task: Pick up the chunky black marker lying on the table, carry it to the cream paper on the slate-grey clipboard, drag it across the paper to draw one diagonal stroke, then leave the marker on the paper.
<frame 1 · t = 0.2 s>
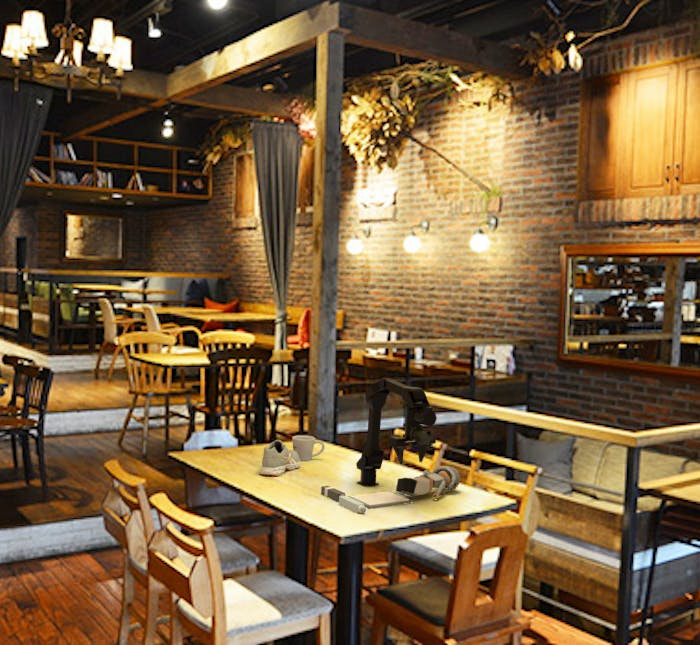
hand: (410, 463, 302), 14 cm above the table, tool pointing down, fingers open, 9 cm apart
pale blue marker: (351, 508, 290), on the table
running shoe: (281, 470, 344), on the table
mug: (307, 460, 366), on the table
clipboard: (380, 500, 302), on the table
toy: (430, 496, 313), on the table
black marker: (332, 497, 303), on the table
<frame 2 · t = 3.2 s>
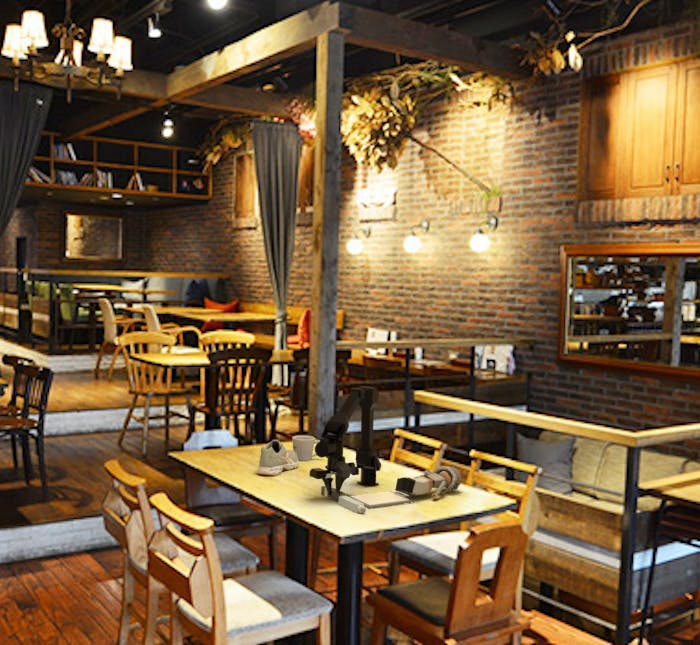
hand: (333, 494, 303), 1 cm above the table, tool pointing down, fingers closed on black marker, 3 cm apart
black marker: (332, 497, 303), on the table, touching gripper
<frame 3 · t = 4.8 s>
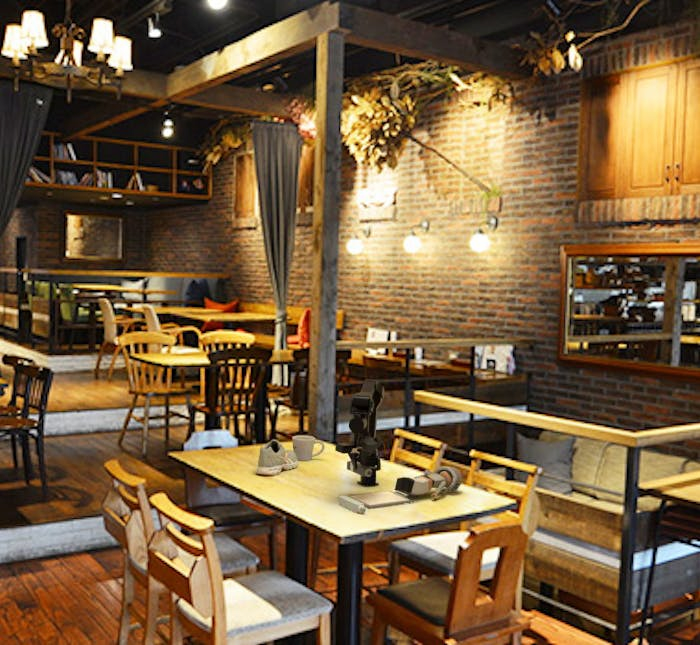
hand: (359, 469, 304), 11 cm above the table, tool pointing down, fingers closed on black marker, 3 cm apart
black marker: (358, 472, 305), point 9 cm above the table, touching gripper
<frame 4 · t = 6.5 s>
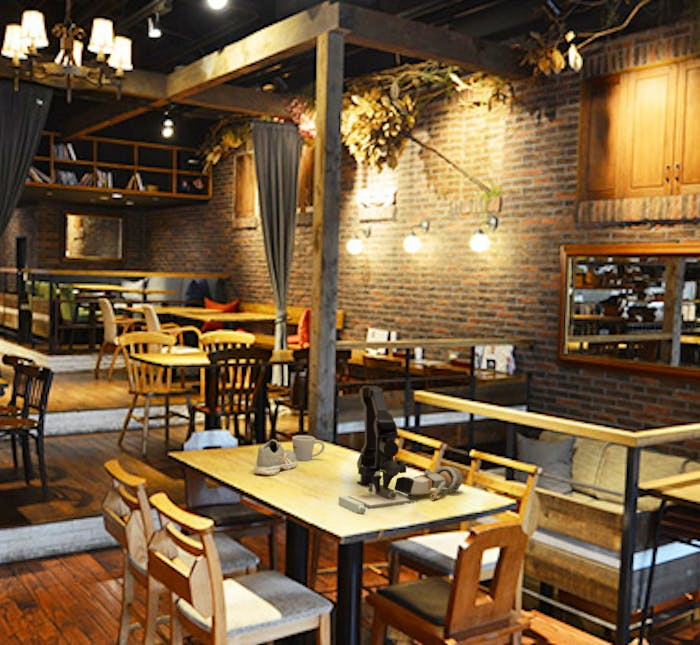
hand: (381, 492, 306), 2 cm above the table, tool pointing down, fingers closed on black marker, 3 cm apart
toy: (430, 496, 313), on the table, touching clipboard
black marker: (380, 494, 307), point 1 cm above the table, touching clipboard, gripper
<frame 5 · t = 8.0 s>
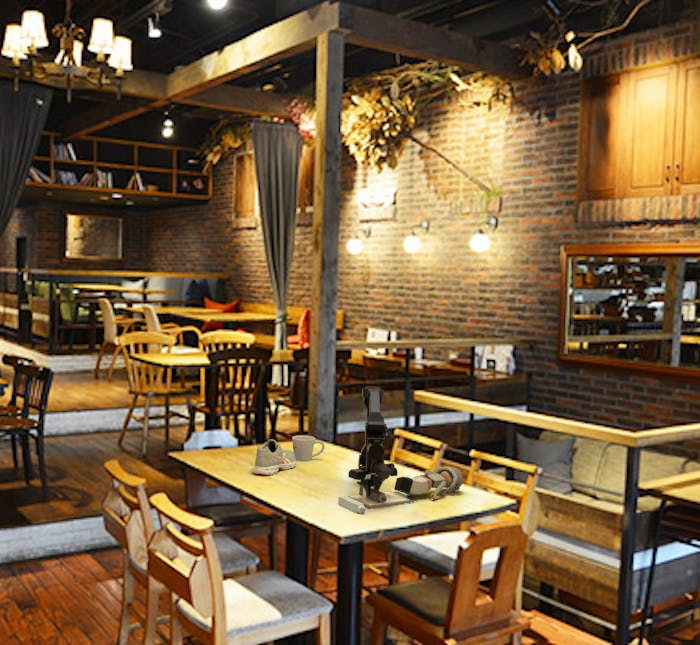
hand: (372, 495, 300), 2 cm above the table, tool pointing down, fingers closed on black marker, 3 cm apart
black marker: (371, 497, 301), point 1 cm above the table, touching gripper
when the fingers open (3 cm above the table, at t = 9.7 s): black marker stays where it is, resting on clipboard.
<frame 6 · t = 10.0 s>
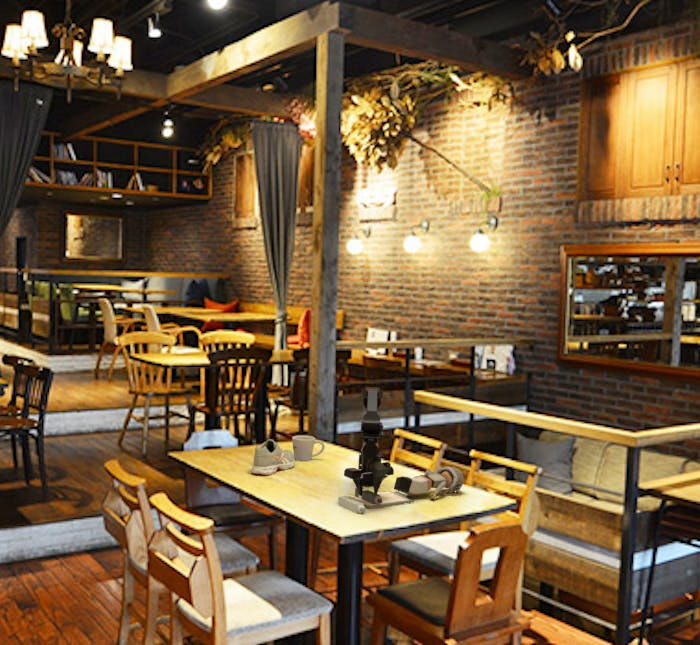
hand: (368, 494, 298), 3 cm above the table, tool pointing down, fingers open, 6 cm apart
black marker: (367, 499, 298), point 1 cm above the table, touching clipboard
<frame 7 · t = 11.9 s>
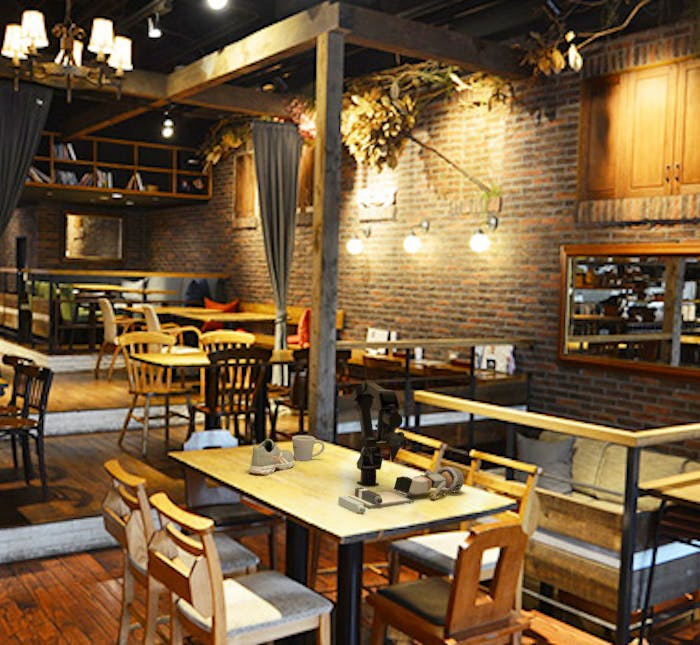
hand: (382, 462, 312), 12 cm above the table, tool pointing down, fingers open, 9 cm apart
toy: (431, 496, 313), on the table
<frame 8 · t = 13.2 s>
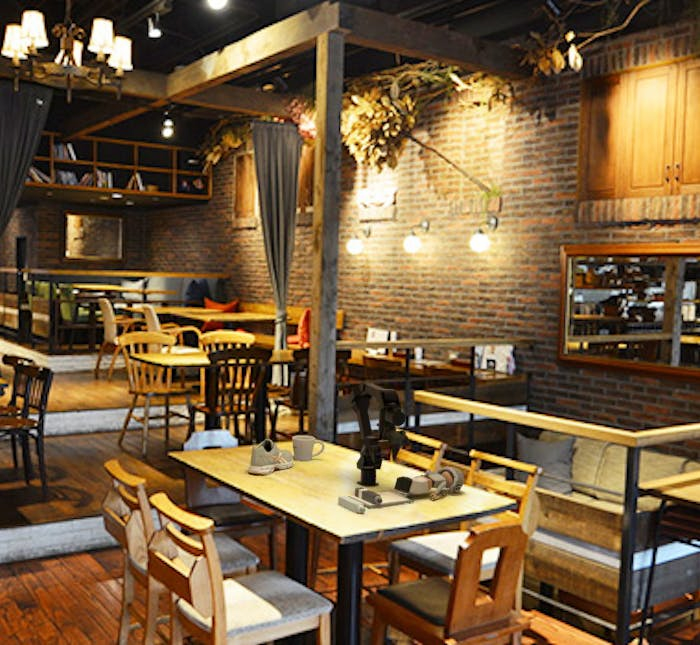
hand: (384, 461, 314), 12 cm above the table, tool pointing down, fingers open, 9 cm apart
at the end: black marker inside the target area on the clipboard (6.0 cm from its centre), point 1.1 cm above the clipboard's base; the gripper is holding nothing; pale blue marker moved 0.4 cm from its start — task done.
